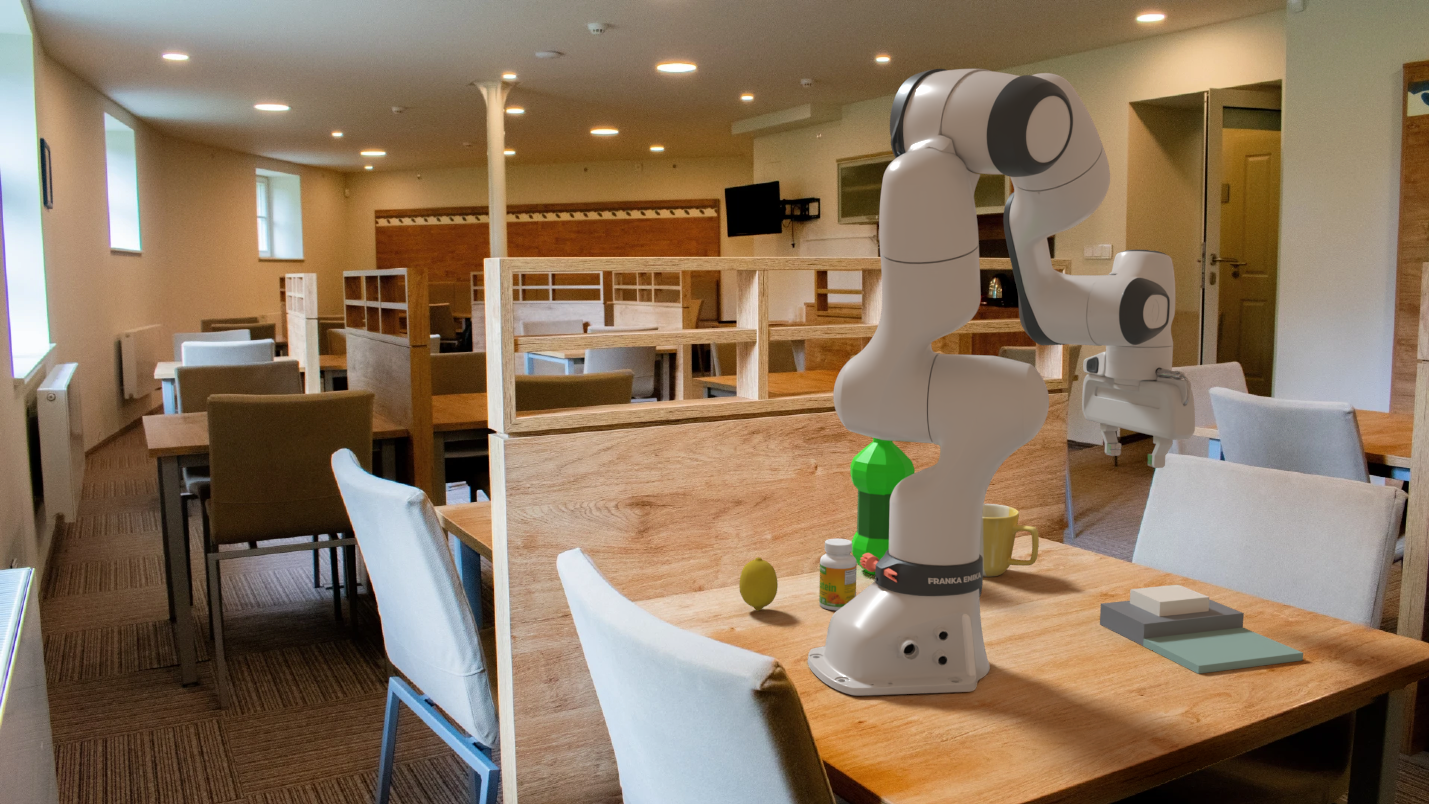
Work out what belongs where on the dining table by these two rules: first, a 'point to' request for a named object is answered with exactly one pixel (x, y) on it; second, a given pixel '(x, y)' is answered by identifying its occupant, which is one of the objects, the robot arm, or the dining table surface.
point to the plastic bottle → (876, 494)
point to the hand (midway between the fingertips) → (1133, 460)
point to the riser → (1166, 621)
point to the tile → (1169, 600)
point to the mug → (1002, 539)
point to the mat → (1222, 650)
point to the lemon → (758, 583)
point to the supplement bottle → (837, 574)
